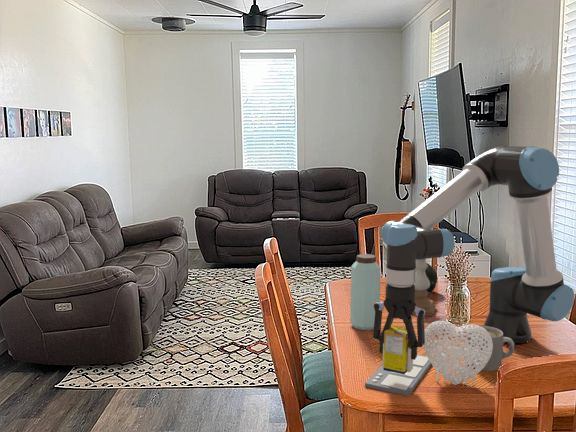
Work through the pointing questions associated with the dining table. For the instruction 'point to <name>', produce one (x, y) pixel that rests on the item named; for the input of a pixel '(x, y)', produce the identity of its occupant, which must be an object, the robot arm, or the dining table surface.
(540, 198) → the robot arm
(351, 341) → the dining table surface
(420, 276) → the candle holder
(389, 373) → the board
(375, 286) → the water bottle
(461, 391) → the dining table surface
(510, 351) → the coffee mug
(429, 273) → the squash
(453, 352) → the decorative heart
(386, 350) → the supplement box
